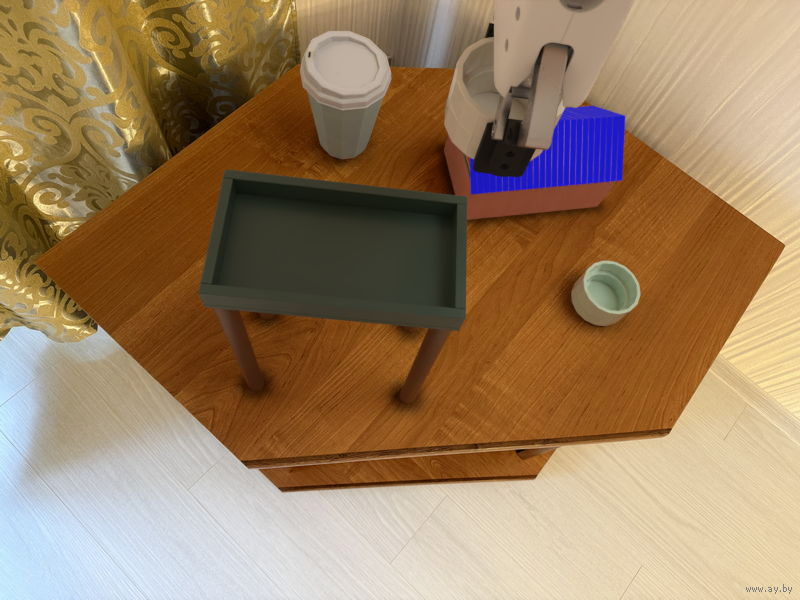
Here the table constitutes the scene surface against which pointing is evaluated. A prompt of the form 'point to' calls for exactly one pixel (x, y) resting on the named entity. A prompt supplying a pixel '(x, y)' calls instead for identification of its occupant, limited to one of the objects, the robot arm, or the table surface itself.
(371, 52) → the disposable coffee cup
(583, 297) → the dish
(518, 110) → the dish
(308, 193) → the tray
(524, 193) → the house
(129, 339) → the table surface
